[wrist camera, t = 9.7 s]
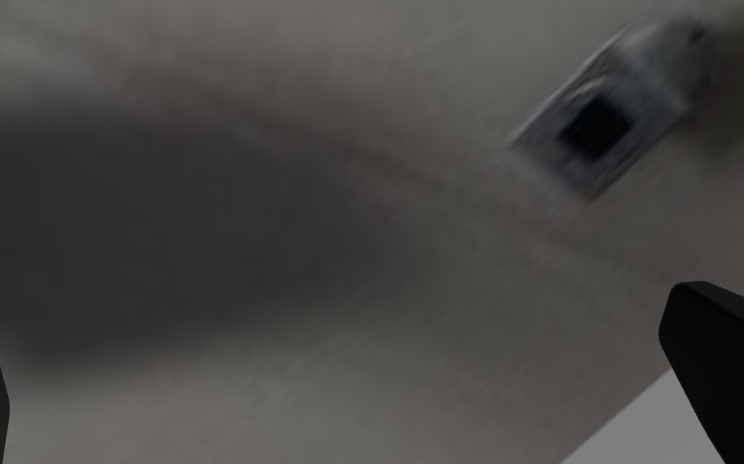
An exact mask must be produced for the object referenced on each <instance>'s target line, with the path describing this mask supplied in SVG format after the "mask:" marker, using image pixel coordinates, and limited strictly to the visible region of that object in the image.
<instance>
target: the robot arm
mask: <svg viewBox="0 0 744 464" xmlns="http://www.w3.org/2000/svg"><path fill="white" fill-rule="evenodd" d="M658 335H659V341H660V345H661V347H662V349H663V351H664V353H665V355H666V357H667V359H668V361H669V363H670V365H671V367H672V369H673V370H674V372H675V374H676V376H677V378H678V380H679V382H680V384H681V386H682V388H683V390H684V392H685V394H686V396H687V398H688V399H689V401H690V404H691V406H692V407H693V409H694V411H695V413H696V415H697V417H698V419H699V421H700V423H701V425H702V426H703V428H704V430H705V432H706V433H707V436H708V437H709V439H710V440H711V442H712V444H713V445H714V447H715V449H716V450H717V452H718V453H719V455H720V456H721V458H722V460H723V461H724V463H725V464H744V297H743V296H740V295H738V294H736V293H733V292H731V291H728V290H726V289H723V288H721V287H718V286H716V285H713V284H711V283H708V282H705V281H693V282H682V283H678V284H676V285H675V286H674V287H673V288H672V289H671V291H670V294H669V297H668V300H667V303H666V307H665V310H664V313H663V316H662V320H661V323H660V326H659V334H658ZM9 414H10V405H9V397H8V393H7V390H6V386H5V382H4V379H3V375H2V371H1V368H0V464H2V462H3V456H4V449H5V442H6V436H7V429H8V423H9Z"/></svg>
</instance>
